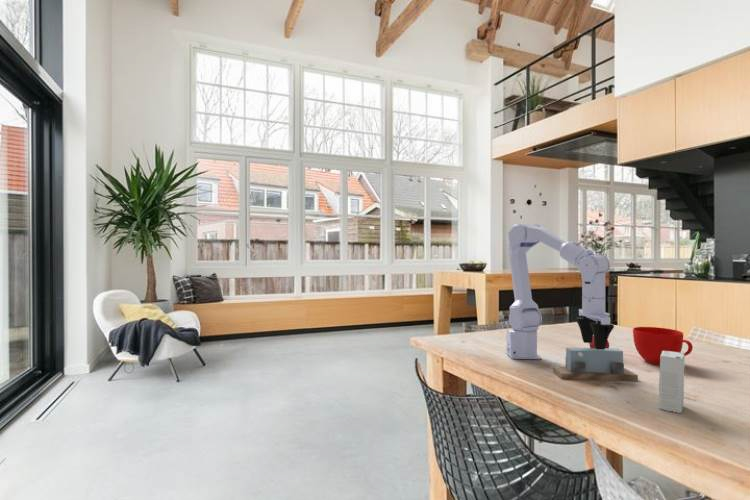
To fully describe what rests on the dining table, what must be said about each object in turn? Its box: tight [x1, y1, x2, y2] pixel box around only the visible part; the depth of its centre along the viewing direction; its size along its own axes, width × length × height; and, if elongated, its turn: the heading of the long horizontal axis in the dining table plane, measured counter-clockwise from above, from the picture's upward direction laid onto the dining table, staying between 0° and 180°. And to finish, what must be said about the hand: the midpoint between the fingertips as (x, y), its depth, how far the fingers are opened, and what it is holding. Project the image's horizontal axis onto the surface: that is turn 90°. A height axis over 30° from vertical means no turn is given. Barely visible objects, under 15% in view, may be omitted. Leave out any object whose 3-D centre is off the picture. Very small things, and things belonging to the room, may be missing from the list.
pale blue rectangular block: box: [565, 347, 624, 373], centre depth 111 cm, size 14×4×6 cm, turn 85°
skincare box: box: [658, 351, 686, 414], centre depth 89 cm, size 6×4×12 cm
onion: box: [588, 336, 610, 348], centre depth 134 cm, size 6×6×8 cm
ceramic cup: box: [632, 326, 694, 366], centre depth 123 cm, size 13×17×10 cm
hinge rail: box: [552, 362, 639, 382], centre depth 112 cm, size 20×6×4 cm, turn 85°
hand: (593, 345), depth 112 cm, fingers open, 7 cm apart
